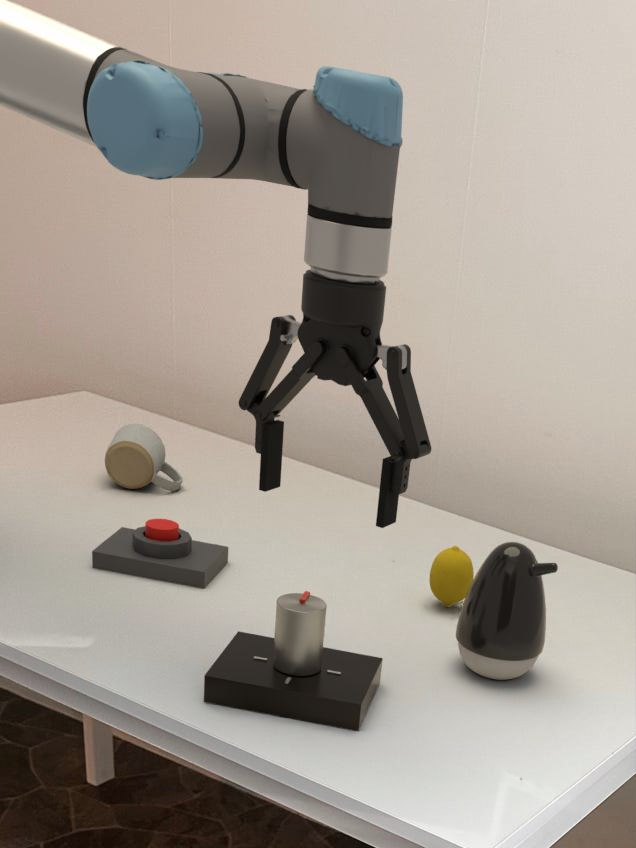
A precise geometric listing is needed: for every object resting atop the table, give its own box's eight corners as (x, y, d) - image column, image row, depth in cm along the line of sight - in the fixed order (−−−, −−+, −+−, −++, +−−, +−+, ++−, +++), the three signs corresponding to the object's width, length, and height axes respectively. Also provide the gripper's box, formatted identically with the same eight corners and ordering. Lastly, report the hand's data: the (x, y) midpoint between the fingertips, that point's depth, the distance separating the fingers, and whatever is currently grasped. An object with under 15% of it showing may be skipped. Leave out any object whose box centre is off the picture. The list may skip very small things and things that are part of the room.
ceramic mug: (102, 487, 169) (102, 433, 165) (113, 471, 176) (113, 419, 172) (177, 498, 171) (179, 445, 167) (185, 482, 178) (187, 430, 174)
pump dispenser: (514, 699, 131) (538, 567, 123) (434, 669, 135) (453, 539, 127) (554, 672, 139) (579, 547, 131) (477, 644, 143) (497, 521, 134)
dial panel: (203, 702, 120) (204, 673, 118) (237, 656, 130) (238, 629, 128) (358, 731, 119) (361, 703, 118) (379, 683, 130) (383, 656, 128)
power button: (140, 539, 145) (140, 525, 144) (151, 530, 148) (151, 516, 147) (172, 545, 145) (172, 531, 144) (183, 535, 148) (183, 522, 147)
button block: (92, 568, 144) (91, 536, 142) (122, 543, 153) (121, 513, 151) (204, 589, 144) (205, 557, 142) (228, 563, 153) (229, 532, 150)
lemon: (452, 596, 155) (460, 537, 150) (477, 612, 151) (486, 552, 147) (417, 600, 152) (425, 540, 147) (441, 617, 148) (450, 555, 144)
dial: (315, 679, 121) (320, 612, 117) (267, 670, 121) (271, 603, 117) (326, 660, 125) (331, 595, 121) (279, 652, 125) (283, 586, 121)
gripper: (486, 300, 106) (453, 531, 117) (254, 245, 113) (244, 467, 125) (449, 306, 100) (418, 548, 111) (206, 247, 107) (201, 480, 119)
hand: (326, 506), depth 118 cm, fingers open, 13 cm apart
